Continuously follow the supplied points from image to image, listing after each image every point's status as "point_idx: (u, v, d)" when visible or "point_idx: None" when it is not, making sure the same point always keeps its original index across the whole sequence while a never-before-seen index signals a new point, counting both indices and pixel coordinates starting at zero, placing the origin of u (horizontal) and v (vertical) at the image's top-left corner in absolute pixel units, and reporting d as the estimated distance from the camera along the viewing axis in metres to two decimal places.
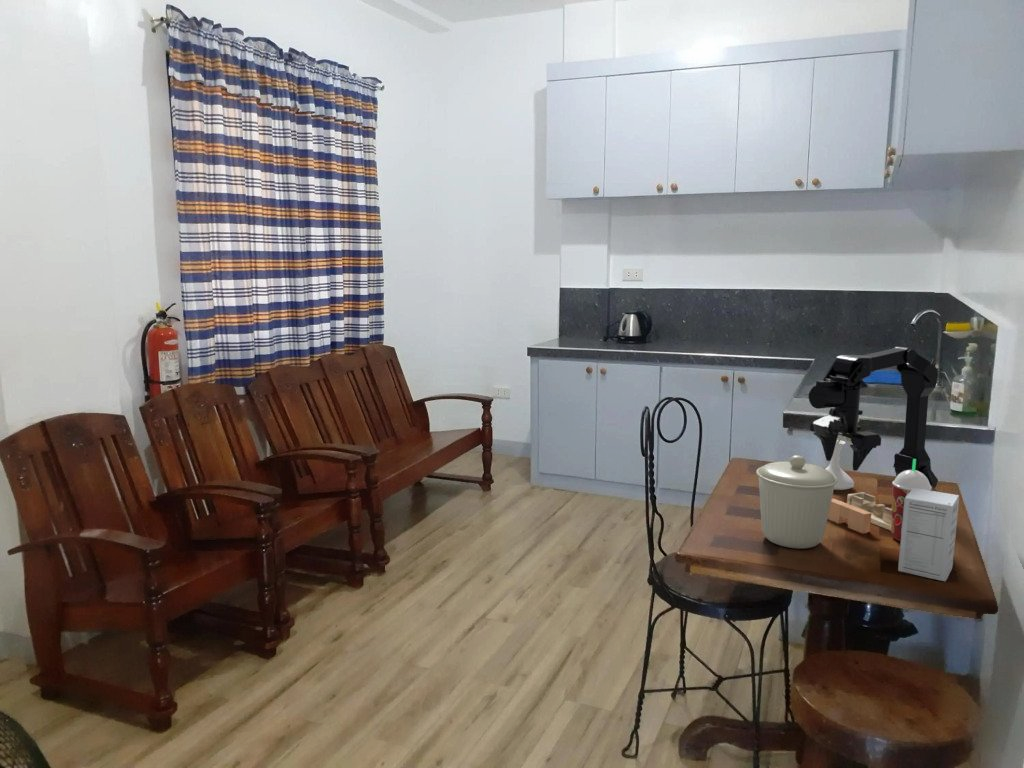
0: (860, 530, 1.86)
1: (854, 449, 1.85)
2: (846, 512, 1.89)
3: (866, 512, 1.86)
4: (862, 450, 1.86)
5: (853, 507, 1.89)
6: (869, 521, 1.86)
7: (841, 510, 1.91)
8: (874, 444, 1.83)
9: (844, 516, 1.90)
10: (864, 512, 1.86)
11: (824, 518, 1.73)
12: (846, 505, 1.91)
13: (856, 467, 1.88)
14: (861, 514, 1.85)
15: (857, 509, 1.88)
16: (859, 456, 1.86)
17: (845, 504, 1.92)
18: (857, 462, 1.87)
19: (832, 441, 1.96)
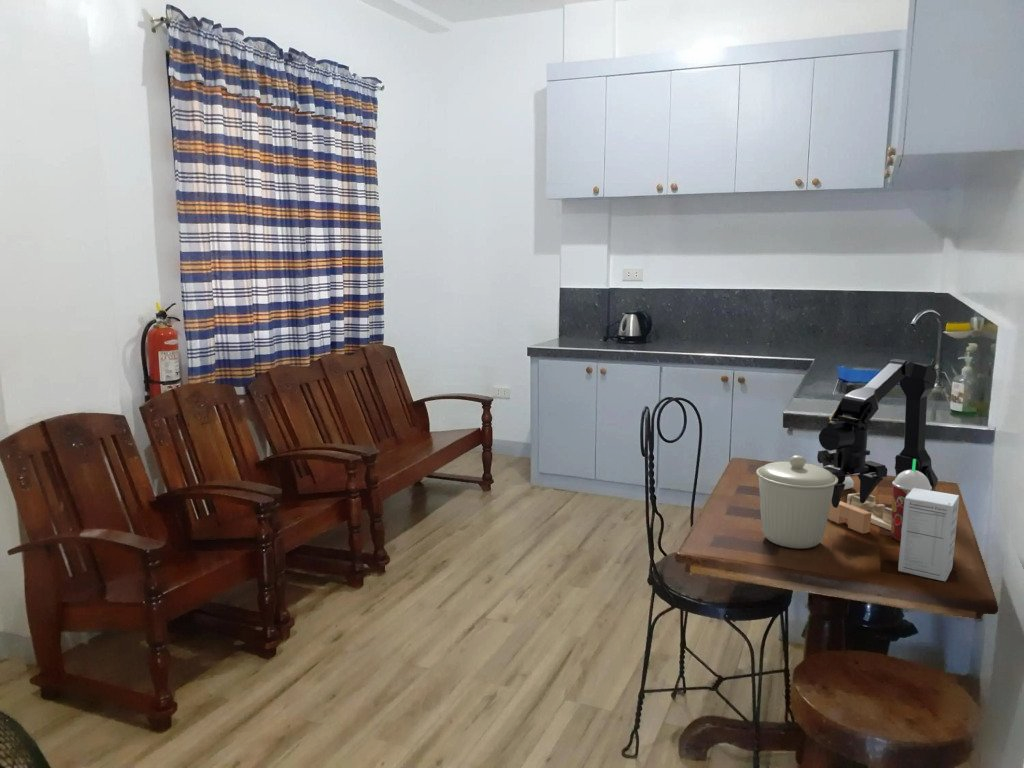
0: (860, 530, 1.86)
1: None
2: (846, 512, 1.89)
3: (866, 512, 1.86)
4: (834, 487, 1.87)
5: (853, 507, 1.89)
6: (869, 521, 1.86)
7: (841, 510, 1.91)
8: None
9: (844, 516, 1.90)
10: (864, 512, 1.86)
11: (824, 518, 1.73)
12: (846, 505, 1.91)
13: (833, 504, 1.88)
14: (861, 514, 1.85)
15: (857, 509, 1.88)
16: None
17: (845, 504, 1.92)
18: (832, 498, 1.88)
19: (867, 484, 1.91)
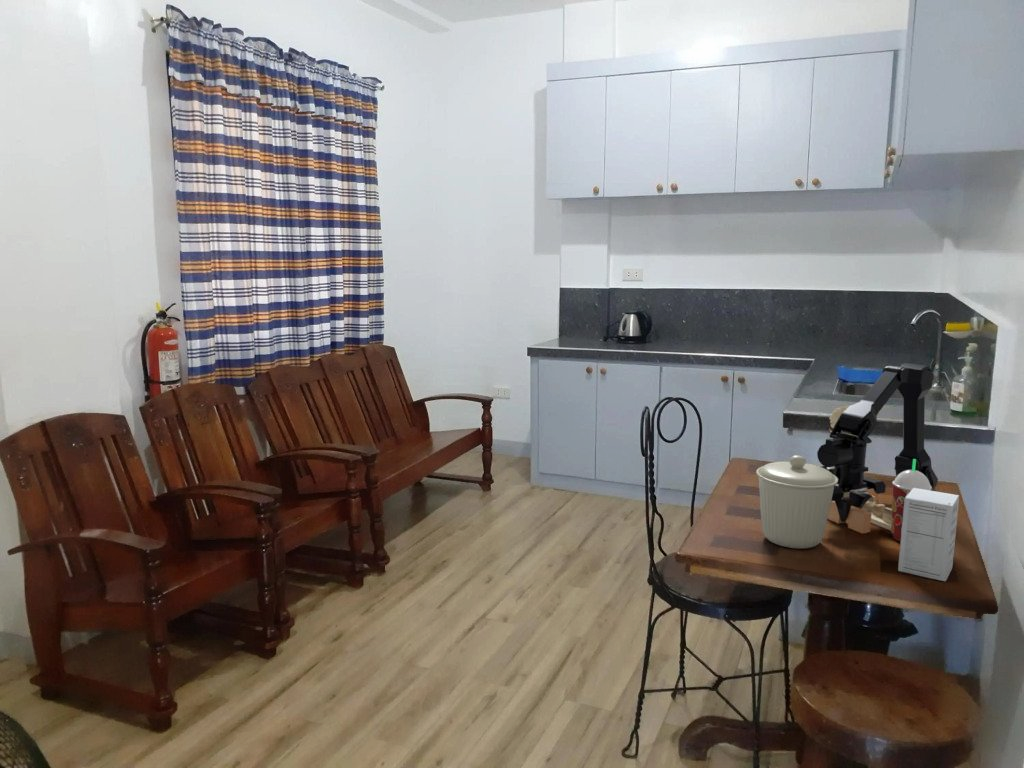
0: (860, 530, 1.86)
1: None
2: None
3: (866, 512, 1.86)
4: (843, 502, 1.89)
5: (853, 507, 1.89)
6: (869, 521, 1.86)
7: None
8: None
9: None
10: (864, 512, 1.86)
11: (824, 518, 1.73)
12: None
13: (841, 518, 1.90)
14: (861, 514, 1.85)
15: (857, 509, 1.88)
16: (840, 507, 1.90)
17: None
18: (840, 513, 1.90)
19: (856, 502, 1.90)
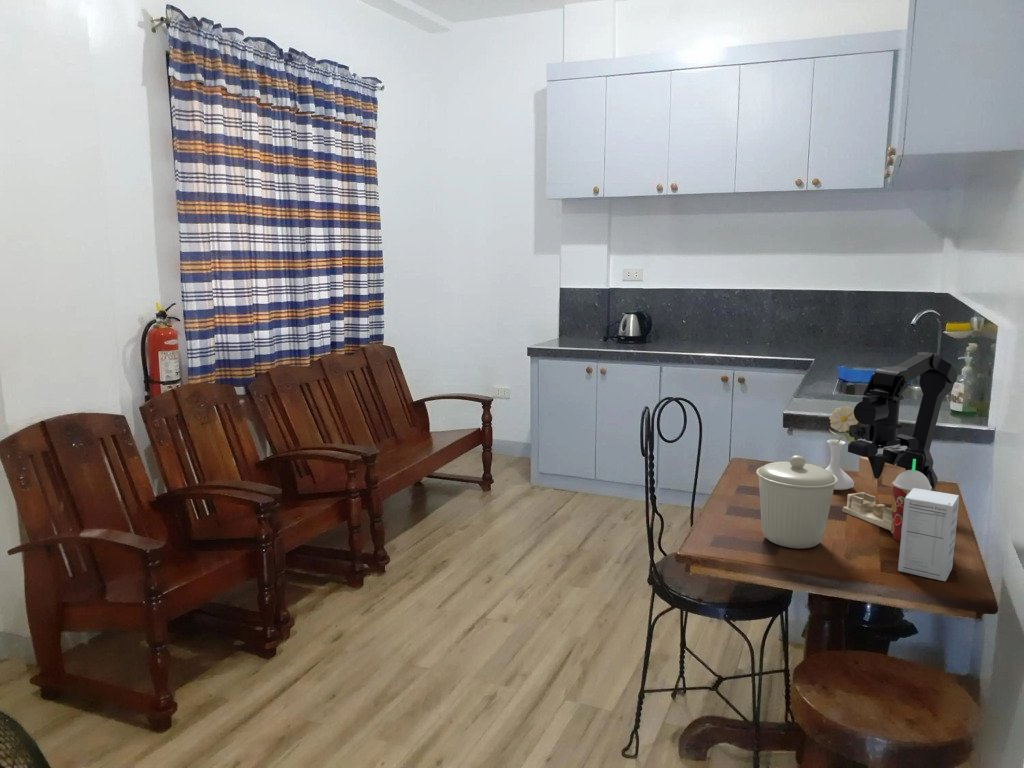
0: None
1: None
2: None
3: (900, 468, 1.88)
4: (876, 459, 1.91)
5: (887, 464, 1.92)
6: None
7: None
8: (857, 453, 1.88)
9: None
10: (898, 468, 1.88)
11: (824, 518, 1.73)
12: None
13: (875, 475, 1.93)
14: (895, 470, 1.88)
15: (891, 465, 1.90)
16: (873, 464, 1.92)
17: None
18: (873, 469, 1.93)
19: (889, 458, 1.92)
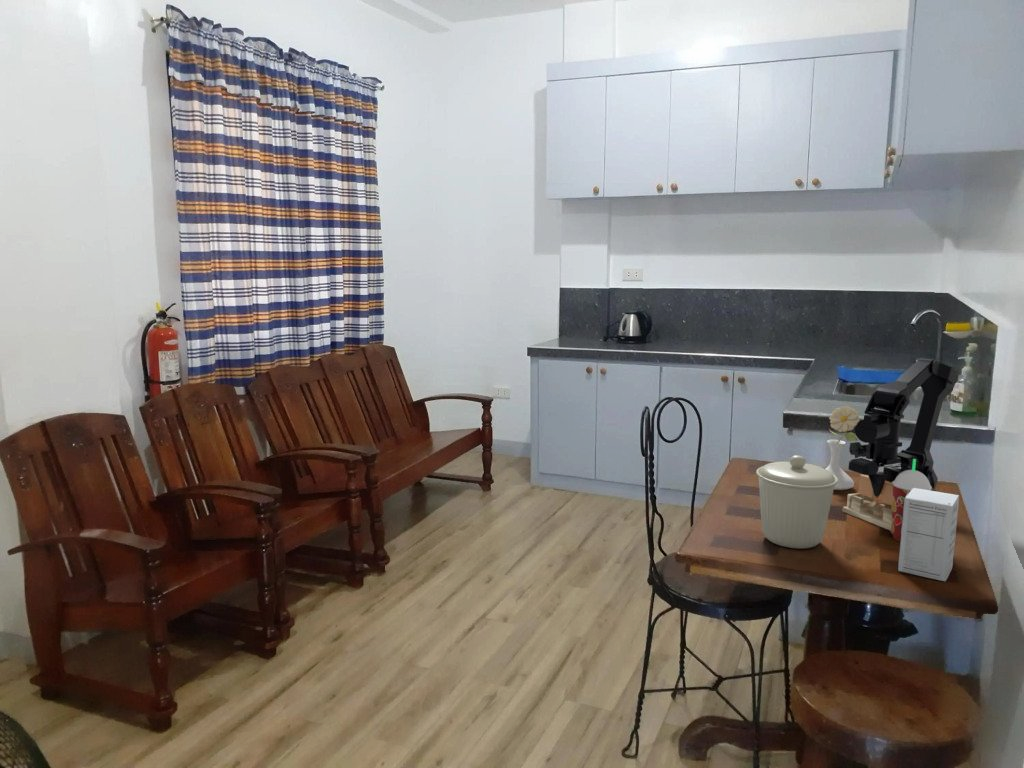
0: None
1: None
2: None
3: None
4: (877, 477, 1.92)
5: (887, 482, 1.93)
6: None
7: None
8: (858, 471, 1.89)
9: None
10: None
11: (824, 518, 1.73)
12: None
13: (875, 493, 1.94)
14: None
15: (891, 483, 1.91)
16: (874, 481, 1.93)
17: None
18: (874, 487, 1.94)
19: (890, 476, 1.93)
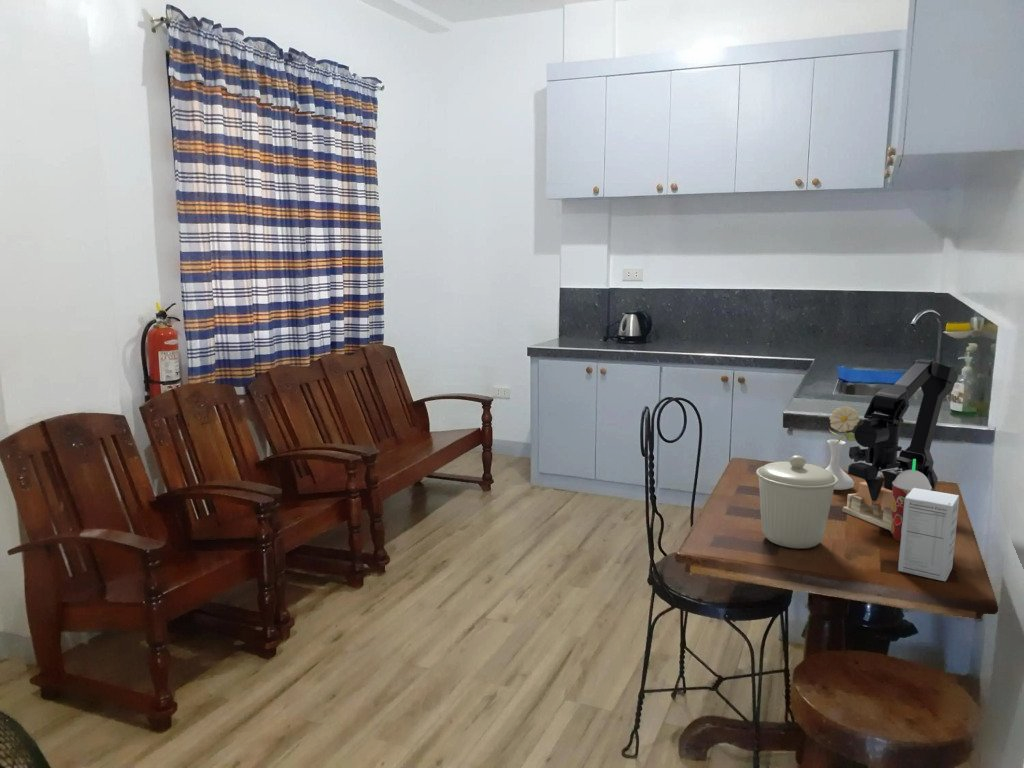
0: None
1: None
2: (879, 494, 1.93)
3: None
4: (874, 481, 1.92)
5: (886, 490, 1.93)
6: None
7: None
8: (857, 475, 1.89)
9: (877, 498, 1.94)
10: None
11: (824, 518, 1.73)
12: None
13: (872, 497, 1.94)
14: None
15: (890, 491, 1.92)
16: (871, 486, 1.93)
17: None
18: (871, 492, 1.93)
19: (891, 480, 1.94)
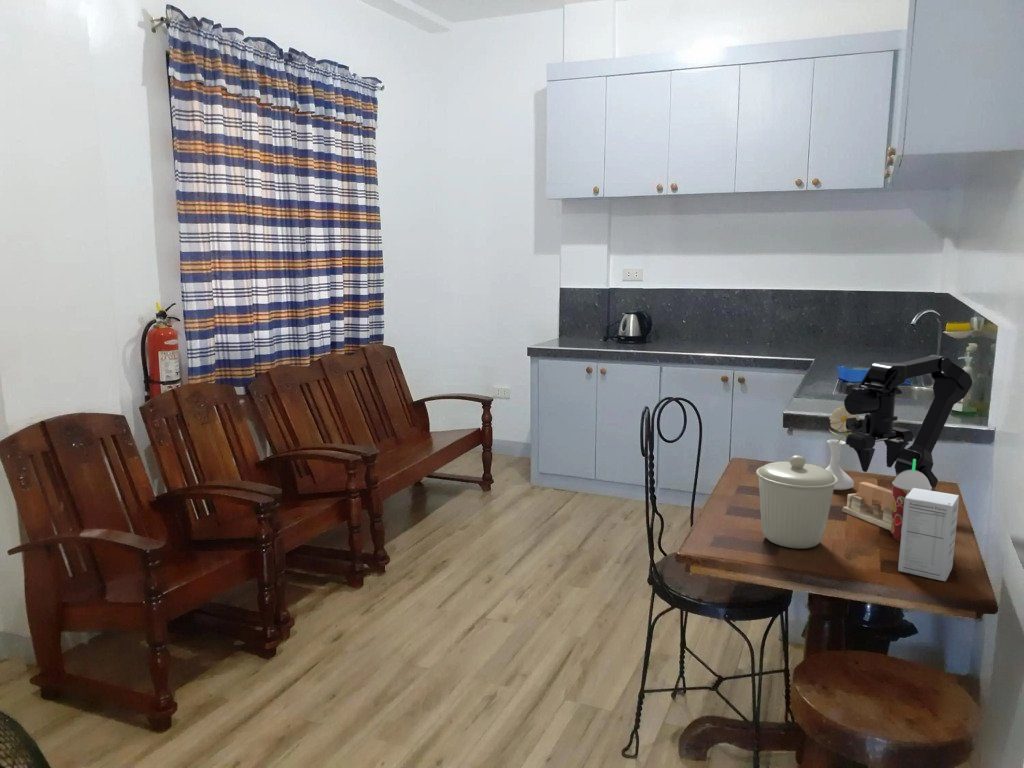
0: None
1: None
2: (879, 494, 1.93)
3: None
4: (864, 452, 1.95)
5: (886, 490, 1.93)
6: None
7: (874, 493, 1.95)
8: (855, 445, 1.93)
9: (877, 498, 1.94)
10: None
11: (824, 518, 1.73)
12: (879, 488, 1.95)
13: (863, 468, 1.97)
14: None
15: (890, 491, 1.92)
16: (861, 457, 1.96)
17: (878, 487, 1.95)
18: (862, 463, 1.96)
19: (894, 449, 1.99)
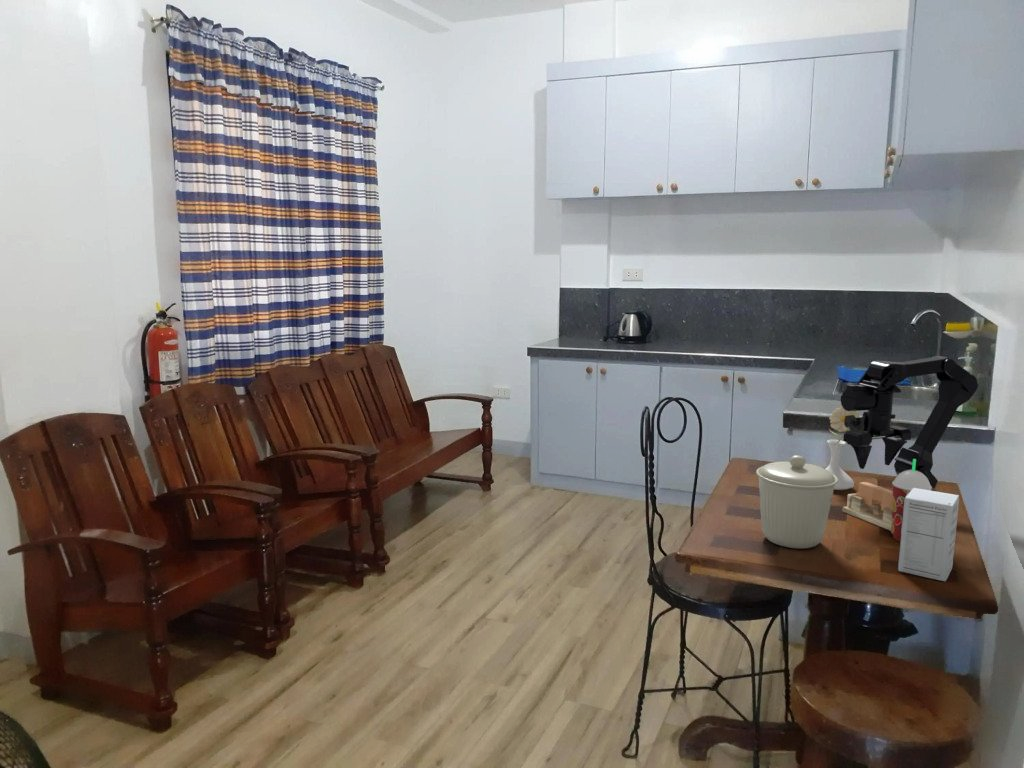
0: None
1: None
2: (879, 494, 1.93)
3: None
4: (861, 449, 1.97)
5: (886, 490, 1.93)
6: None
7: (874, 493, 1.95)
8: (852, 442, 1.95)
9: (877, 498, 1.94)
10: None
11: (824, 518, 1.73)
12: (879, 488, 1.95)
13: (860, 465, 1.98)
14: None
15: (890, 491, 1.92)
16: (858, 454, 1.98)
17: (878, 487, 1.95)
18: (859, 460, 1.98)
19: (892, 447, 2.01)
